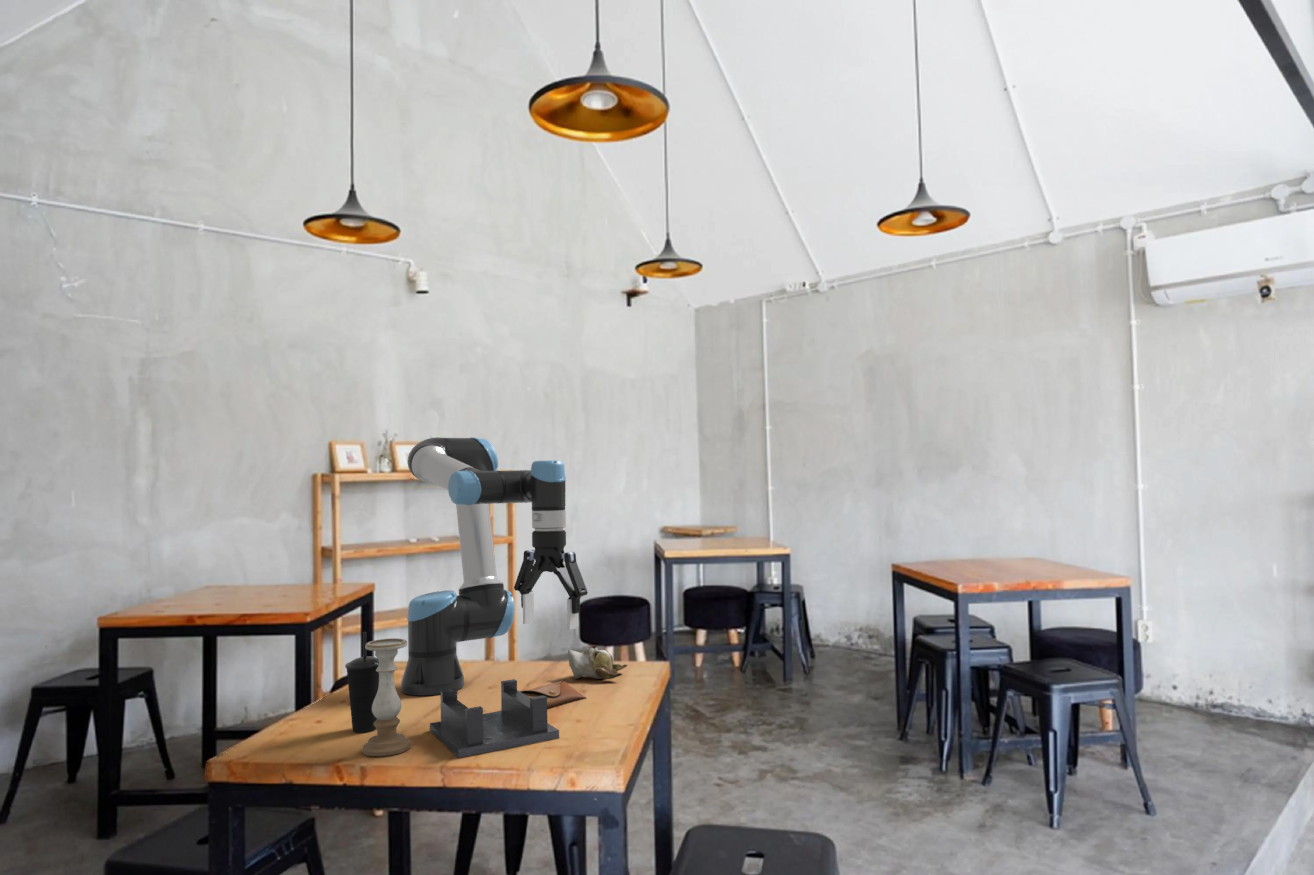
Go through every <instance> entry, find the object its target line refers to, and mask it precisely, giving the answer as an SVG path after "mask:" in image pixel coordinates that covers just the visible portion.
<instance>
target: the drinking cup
mask: <svg viewBox="0 0 1314 875" xmlns="http://www.w3.org/2000/svg"><path fill="white" fill-rule="evenodd" d="M367 634H368V633H367V631H363V632H362V656H359V657H356V658H354V659H352V660H351V661H348V662H347V663H345V665H344V668H345V669H346V674H347V684H348V695H349V697H348V698H349V705H350V706H349V707H350V715H351V727H352V728H351V729H352V732H353V733H357V734H363V733H370V732H373V731H377V729H376V727H375V726H374V722H375V721H376V719H377V718H376V717H375V716H374V715H373V713H372V704H373V701H374V699H375V697H376V694H377V691H378V687H379V672H377V671H376V669H377V667H378V666H379V660H378V658H377V657H376V656H368V654H367V652H368V650H367V649H366V648H365V646H366V644H367V643H368V642H367V638H368V637H367Z"/></svg>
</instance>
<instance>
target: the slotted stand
mask: <svg viewBox="0 0 1314 875" xmlns="http://www.w3.org/2000/svg"><path fill="white" fill-rule="evenodd" d="M500 688H501V689H500V692H501V693H500V694H501V696H500V699H501V702H500V703H501V705H500V706H501V710H498V711H492V712H486V713H484V707H482V706H481V705H479V706H474V707H468V706H466V705H465V704H463V703H462V702H461V701H460V700H458V690H457V689H455V688H454V689H448V690H441V694H440V721H436V722H431V723H429V732H431V734H432V735H434V736H435V737H436V738H437V739H438V740H439V741H440V742H441V743H442V744H443V745H444V746H445V747H446V748H447V749H448V750H449V751H451V752H452V753H453V755H455V756H456V757H457V758H458V759H462V758H467V757H471V756H476V755H481V754H486V753H491V752H496V751H497V752H498V751H501V750H505V749H512V748H516V747H521V746H526V745H530V744H536V743H540V742H541V743H542V742H547V741H552V740H555V739H560V730H559V729H557V728H556V727H555V726H553V725H551V724H550V723H548V710H547V697H546V696H538V697H532V698H530V697H528V696H527V695H525V694H523V693H521V692H520V691H521V690H518V680H517V679H515V678H513V679H507V680H502V681H500Z"/></svg>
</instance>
